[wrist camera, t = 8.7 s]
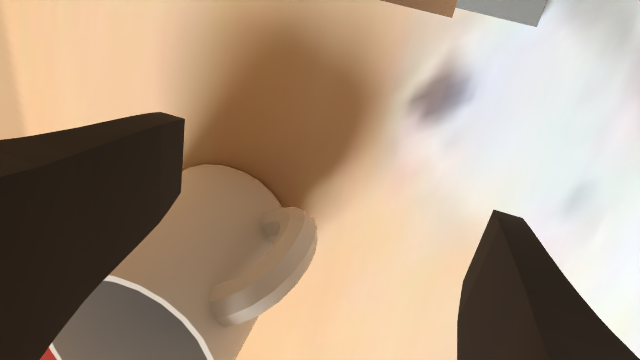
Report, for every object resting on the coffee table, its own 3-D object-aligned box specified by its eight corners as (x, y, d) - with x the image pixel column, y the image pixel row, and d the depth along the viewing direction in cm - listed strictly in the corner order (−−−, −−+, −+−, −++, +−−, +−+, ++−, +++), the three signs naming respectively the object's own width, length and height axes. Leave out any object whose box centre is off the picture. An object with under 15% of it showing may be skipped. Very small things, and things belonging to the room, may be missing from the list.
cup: (138, 183, 27) (4, 294, 19) (304, 120, 23) (215, 231, 15) (208, 291, 29) (112, 429, 22) (369, 252, 25) (320, 406, 17)
